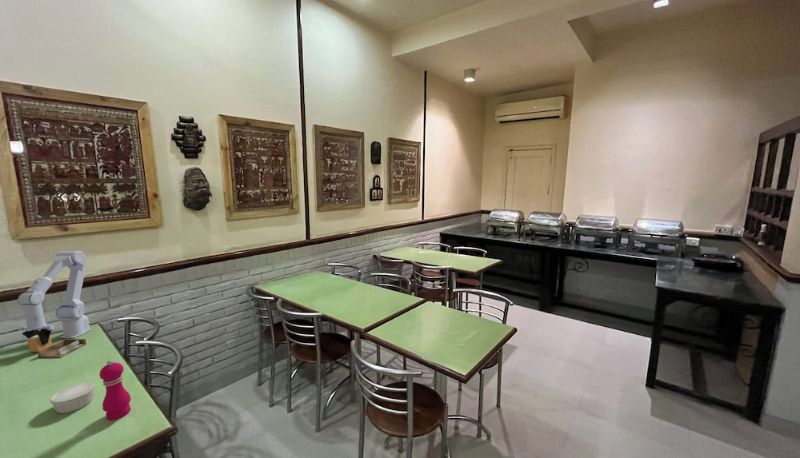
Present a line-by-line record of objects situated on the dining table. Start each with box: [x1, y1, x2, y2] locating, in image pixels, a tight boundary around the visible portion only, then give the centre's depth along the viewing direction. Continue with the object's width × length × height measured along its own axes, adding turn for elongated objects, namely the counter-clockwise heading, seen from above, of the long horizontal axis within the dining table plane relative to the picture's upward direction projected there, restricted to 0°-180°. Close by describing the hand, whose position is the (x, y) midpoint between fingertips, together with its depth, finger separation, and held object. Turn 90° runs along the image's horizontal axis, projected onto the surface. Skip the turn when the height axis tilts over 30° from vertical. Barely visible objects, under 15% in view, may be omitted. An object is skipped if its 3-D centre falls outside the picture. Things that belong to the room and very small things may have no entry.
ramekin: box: [49, 381, 96, 414], centre depth 114 cm, size 11×11×5 cm
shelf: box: [37, 338, 87, 359], centre depth 151 cm, size 12×10×3 cm
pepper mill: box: [99, 359, 132, 421], centre depth 108 cm, size 7×7×20 cm
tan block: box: [26, 335, 53, 353], centre depth 151 cm, size 6×4×6 cm
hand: (40, 343), depth 151 cm, fingers closed on tan block, 4 cm apart
